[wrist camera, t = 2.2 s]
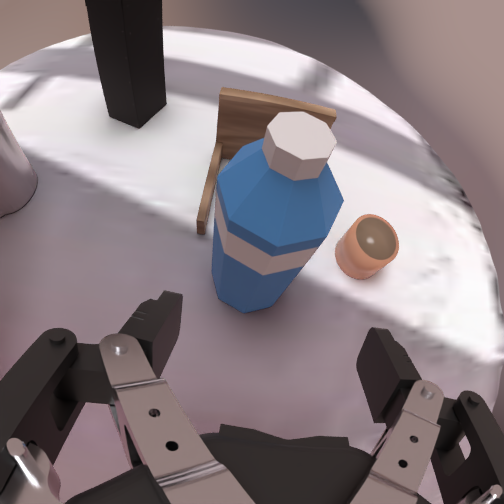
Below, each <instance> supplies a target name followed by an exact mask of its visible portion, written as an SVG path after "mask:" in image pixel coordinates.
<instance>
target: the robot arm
mask: <svg viewBox="0 0 504 504" xmlns="http://www.w3.org/2000/svg"><path fill="white" fill-rule="evenodd" d="M36 186H37V175H36V173H35V171H34V169H33V167H32V166H31V164H30V163H29V161H28V159H27V158H26V156H25V154H24V153H23V151H22V149H21V148H20V146H19V144H18V142H17V141H16V139H15V137H14V135H13V133H12V132H11V130H10V128H9V126H8V124H7V122H6V120H5V119H4V117H3V115H2V113H1V111H0V217H2V216H3V215H5V214H8V213H13V212H15V211H17V210H19V209H20V208H22V207H23V206H24V205H25V204H26V203H27V202H28V201H29V199H30V198H31V197H32V195H33V193H34V191H35V189H36ZM182 301H183V296H182V294H179V293H175V292H170V291H166V290H165V291H164V292H163V293H162V294H161V296H160V297H159V299H158V300H153V299H149V300H147V301H145V302H143V303H141V304H140V305H139V307H138V308H137V309H136V312H134V313H133V314H132V316H131V317H130V318H129V319H128V321H127V322H126V323H125V325H124V326H123V327H122V329H121V330H120V331H119V332H118V334H111V335H108V336H106V337H104V338H103V339H102V340H101V341H100V343H99V344H83V343H77V339H76V336H75V334H74V333H73V332H71V331H70V330H67V329H63V328H54V329H50V330H47V331H45V332H44V333H43V334H41V336H40V337H39V338H38V339H37V340H36V341H35V342H34V343H33V344H32V345H31V346H30V347H29V349H28V350H27V351H26V352H25V353H24V354H23V355H22V356H21V358H20V359H19V360H18V361H17V362H16V363H15V364H14V365H13V367H12V368H11V369H10V370H9V371H8V372H7V374H6V375H5V376H4V377H3V378H2V380H1V381H0V504H64V503H62V502H60V499H59V491H60V487H61V482H60V478H59V476H58V474H57V472H56V470H55V469H54V467H53V465H54V463H55V461H56V458H57V456H58V454H59V452H60V450H61V448H62V446H63V444H64V442H65V441H66V439H67V437H68V435H69V433H70V431H71V429H72V427H73V425H74V423H75V421H76V419H77V418H78V416H79V414H80V412H81V410H82V408H83V406H84V405H85V403H86V402H90V403H101V404H108V407H109V410H110V413H111V415H112V418H113V421H114V424H115V426H116V429H117V432H118V434H119V437H120V439H121V442H122V445H123V448H124V451H125V454H126V457H127V460H128V463H129V465H130V467H131V470H129V471H127V472H125V473H123V474H121V475H119V476H117V477H115V478H113V479H111V480H109V481H106V482H104V483H102V484H100V485H98V486H96V487H94V488H91V489H89V490H87V491H85V492H82V493H80V494H78V495H75V496H74V497H72V498H71V499H69V500H68V501H67V502H66V503H65V504H431V503H430V502H428V501H427V500H426V499H424V498H423V497H422V496H421V495H419V494H418V493H417V491H418V488H419V486H420V484H421V481H422V479H423V476H424V474H425V471H426V469H427V466H428V463H429V461H430V459H431V462H432V465H433V469H434V472H435V475H436V478H437V482H438V485H439V488H440V492H441V495H442V499H443V503H444V504H504V434H503V433H502V431H501V429H500V427H499V425H498V424H497V422H496V420H495V418H494V417H493V415H492V413H491V411H490V410H489V408H488V406H487V404H486V403H485V401H484V400H483V398H482V397H481V396H480V395H478V394H477V393H475V392H472V391H463V392H461V394H460V395H459V397H458V398H457V400H454V399H450V398H445V397H444V394H443V392H442V390H441V389H440V388H439V387H438V386H437V385H436V384H434V383H432V382H430V381H426V380H422V379H421V377H420V375H419V373H418V371H417V370H416V368H415V366H414V364H413V363H412V361H411V359H410V357H408V354H407V352H406V351H405V349H404V348H403V347H402V346H401V345H400V344H399V343H398V342H397V341H395V340H394V338H393V337H392V335H391V333H390V331H389V330H388V329H382V328H374V327H372V328H371V329H370V330H369V332H368V334H367V336H366V339H365V341H364V343H363V346H362V348H361V351H360V353H359V355H358V358H357V364H356V367H357V372H358V375H359V378H360V381H361V384H362V387H363V390H364V393H365V396H366V399H367V402H368V405H369V408H370V411H371V414H372V418H373V421H374V423H386V426H387V427H386V429H385V430H384V432H383V433H382V435H381V437H380V439H379V440H378V442H377V444H376V445H375V447H374V448H373V450H372V452H371V453H370V454H368V453H367V452H365V451H362V450H360V449H357V448H354V447H351V446H349V441H348V437H329V436H315V437H308V438H300V439H292V440H286V439H282V438H279V437H275V436H272V435H269V434H266V433H263V432H260V431H257V430H254V429H248V428H242V427H236V426H230V425H225V424H221V426H220V431H219V433H206V434H201V435H198V433H197V432H196V430H195V428H194V427H193V425H192V424H191V422H190V421H189V419H188V417H187V416H186V414H185V412H184V411H183V409H182V407H181V406H180V404H179V402H178V401H177V399H176V397H175V396H174V394H173V392H172V390H171V389H170V387H169V385H168V383H167V382H166V380H165V379H164V378H160V376H161V374H162V372H163V369H164V367H165V365H166V363H167V361H168V359H169V356H170V354H171V352H172V350H173V348H174V346H175V344H176V341H177V339H178V336H179V331H180V323H181V312H182ZM465 435H466V437H467V439H468V441H469V443H470V446H471V452H470V455H469V457H468V458H467V459H466V460H465V458H464V455H463V453H462V450H461V448H460V446H459V442H460V441H461V440H462V438H463V437H464V436H465Z"/></svg>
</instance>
